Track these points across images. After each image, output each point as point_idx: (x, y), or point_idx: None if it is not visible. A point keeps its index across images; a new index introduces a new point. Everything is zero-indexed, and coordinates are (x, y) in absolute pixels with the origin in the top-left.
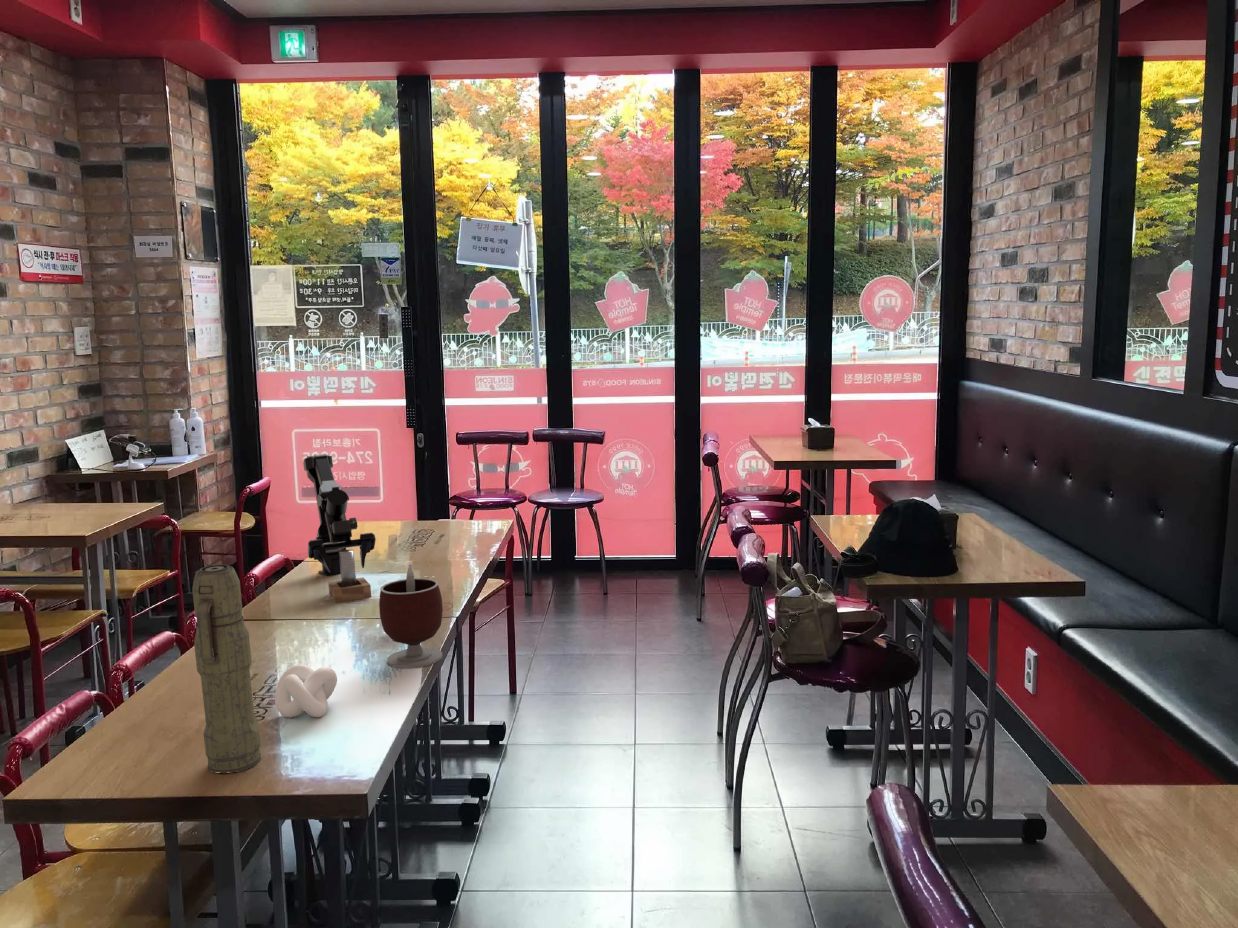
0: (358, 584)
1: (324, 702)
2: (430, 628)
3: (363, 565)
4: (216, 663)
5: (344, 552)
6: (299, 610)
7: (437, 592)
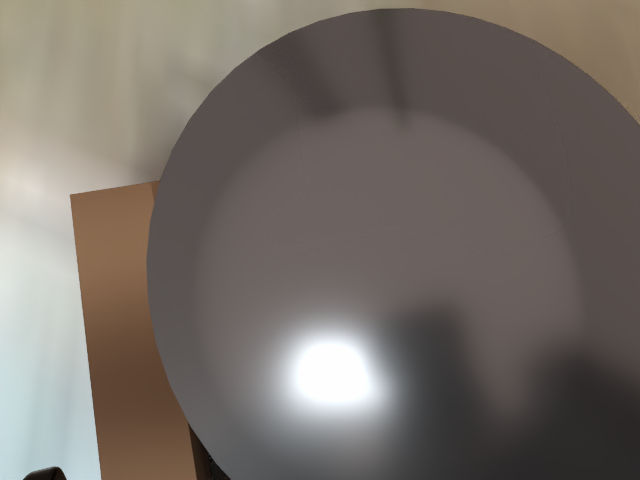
0: (202, 470)
1: None
2: None
3: (37, 473)
4: None
5: (479, 53)
6: (609, 92)
7: None
